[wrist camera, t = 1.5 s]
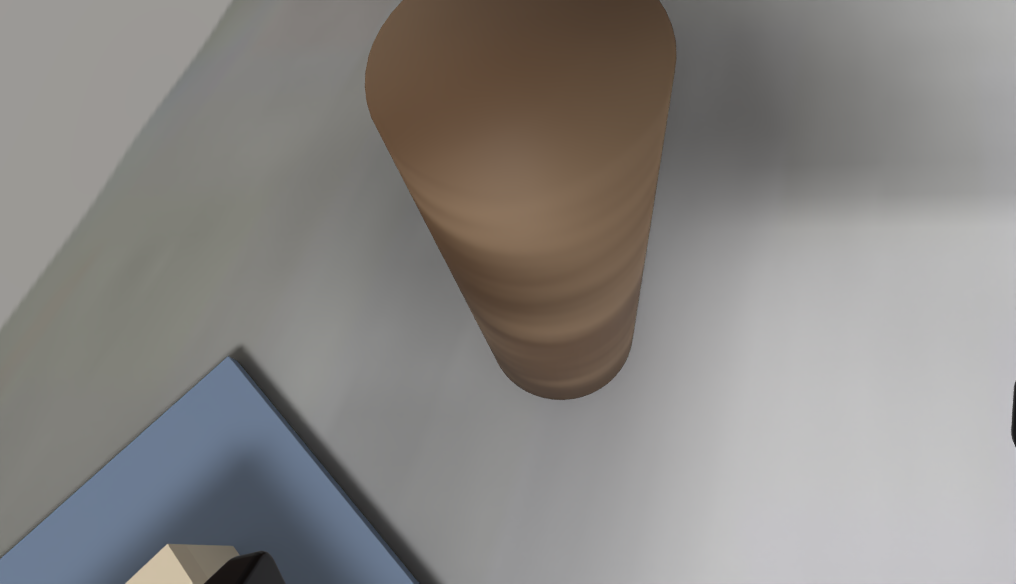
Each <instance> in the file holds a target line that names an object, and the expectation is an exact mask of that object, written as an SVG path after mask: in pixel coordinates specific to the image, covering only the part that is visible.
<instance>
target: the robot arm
mask: <svg viewBox="0 0 1016 584" xmlns="http://www.w3.org/2000/svg"><path fill="white" fill-rule="evenodd" d="M1011 435H1012V439H1013V442H1014V444H1015V447H1016V382H1015V385H1014V395H1013V410H1012V425H1011ZM204 584H286V583H285V581H284V579H283V577H282V575H281V573H280V571H279V569H278V567H277V565H276V563H275V561H274V559H273V557H272V556H271V555H270V554H269V553H268V552H266V551H256V552H252V553H248V554H243V555H239V556H236V557H233V558H231V559H230V560H228V561H227V562H226V563H225V564H224V565H223V566H222V567H221V568H220V569H219V570H218V571H217V572H216V573H214V574H213V575H212V576H211V577H210V578H209V579H208V580H207V581H206V582H205V583H204Z"/></svg>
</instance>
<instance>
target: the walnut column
mask: <svg viewBox="0 0 1016 584" xmlns="http://www.w3.org/2000/svg"><path fill="white" fill-rule="evenodd" d="M675 65H676V41H675V36H674V32H673V28H672V24H671V22H670V20H669V17H668V15H667V13H666V11H665V9H664V7H663V6H662V4H661V3H660V1H659V0H403V1H402V2H401V3H400V4H399V5H398V6H397V7H396V9H395V10H394V11H393V12H392V13H391V14H390V16H389V17H388V19H387V20H386V21H385V23H384V24H383V26H382V27H381V29H380V31H379V33H378V35H377V37H376V39H375V40H374V43H373V46H372V48H371V51H370V54H369V57H368V62H367V67H366V73H365V92H366V100H367V105H368V108H369V111H370V114H371V118H372V120H373V122H374V124H375V126H376V128H377V130H378V132H379V133H380V135H381V137H382V139H383V141H384V143H385V145H386V147H387V149H388V151H389V153H390V155H391V157H392V159H393V161H394V163H395V164H396V166H397V168H398V170H399V172H400V174H401V176H402V178H403V180H404V182H405V184H406V186H407V188H408V190H409V192H410V194H411V195H412V197H413V199H414V201H415V203H416V205H417V207H418V209H419V211H420V213H421V215H422V217H423V219H424V221H425V223H426V225H427V227H428V228H429V230H430V232H431V234H432V236H433V238H434V240H435V242H436V244H437V246H438V248H439V250H440V252H441V254H442V256H443V258H444V259H445V261H446V263H447V265H448V267H449V269H450V271H451V273H452V275H453V277H454V279H455V281H456V283H457V285H458V287H459V289H460V290H461V292H462V294H463V296H464V298H465V300H466V302H467V304H468V306H469V308H470V310H471V312H472V314H473V316H474V318H475V320H476V321H477V323H478V325H479V327H480V329H481V331H482V333H483V335H484V337H485V339H486V341H487V343H488V345H489V347H490V349H491V351H492V353H493V354H494V356H495V358H496V360H497V362H498V364H499V366H500V368H501V369H502V370H503V372H504V373H505V374H506V376H507V377H508V378H509V379H510V380H511V381H512V382H514V383H515V384H516V385H517V386H518V387H520V388H522V389H523V390H525V391H527V392H529V393H531V394H533V395H536V396H539V397H543V398H548V399H555V400H566V399H574V398H579V397H583V396H585V395H588V394H591V393H593V392H595V391H597V390H599V389H600V388H602V387H603V386H605V385H606V384H608V383H609V382H610V381H611V380H612V379H613V378H614V377H615V376H616V375H617V373H618V372H619V371H620V370H621V368H622V367H623V365H624V363H625V362H626V359H627V357H628V355H629V352H630V349H631V345H632V339H633V333H634V326H635V320H636V314H637V307H638V301H639V295H640V288H641V282H642V276H643V269H644V263H645V257H646V250H647V244H648V238H649V231H650V225H651V219H652V212H653V206H654V200H655V193H656V187H657V181H658V174H659V168H660V162H661V155H662V149H663V143H664V136H665V130H666V124H667V117H668V111H669V105H670V98H671V92H672V86H673V79H674V73H675Z"/></svg>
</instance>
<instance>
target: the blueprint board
mask: <svg viewBox="0 0 1016 584" xmlns="http://www.w3.org/2000/svg"><path fill="white" fill-rule="evenodd" d="M256 551H266V552H268V553H269V554H270V555H271V556H272V557H273V559H274V561H275V563H276V565H277V567H278V569H279V571H280V573H281V575H282V577H283V579H284V581H285V583H286V584H419V582H418V581H417V580H416V579H415V578H414V576H413V575H412V574H411V573H410V571H409V570H408V569H407V568H406V567H405V565H404V564H403V563H402V562H401V560H400V559H399V558H398V557H397V556H396V554H395V553H394V552H393V551H392V549H391V548H390V547H389V546H388V545H387V543H386V542H385V541H384V540H383V538H382V537H381V536H380V535H379V534H378V532H377V531H376V530H375V529H374V527H373V526H372V525H371V524H370V523H369V521H368V520H367V519H366V518H365V516H364V515H363V514H362V513H361V512H360V510H359V509H358V508H357V507H356V505H355V504H354V503H353V502H352V501H351V499H350V498H349V497H348V496H347V494H346V493H345V492H344V491H343V490H342V488H341V487H340V486H339V485H338V483H337V482H336V481H335V480H334V479H333V477H332V476H331V475H330V474H329V472H328V471H327V470H326V469H325V468H324V466H323V465H322V464H321V463H320V461H319V460H318V459H317V458H316V457H315V455H314V454H313V453H312V452H311V450H310V449H309V448H308V447H307V446H306V444H305V443H304V442H303V441H302V440H301V438H300V437H299V436H298V435H297V433H296V432H295V431H294V430H293V429H292V427H291V426H290V425H289V424H288V422H287V421H286V420H285V419H284V418H283V416H282V415H281V414H280V413H279V411H278V410H277V409H276V408H275V407H274V405H273V404H272V403H271V402H270V400H269V399H268V398H267V397H266V396H265V394H264V393H263V392H262V391H261V389H260V388H259V387H258V386H257V385H256V383H255V382H254V381H253V380H252V378H251V377H250V376H249V375H248V374H247V372H246V371H245V370H244V369H243V367H242V366H241V365H240V364H239V363H238V361H236V360H235V359H233V358H231V357H229V356H228V357H227V358H226V359H224V360H223V361H222V362H221V363H220V364H219V365H218V366H217V367H215V368H214V369H213V370H212V371H211V372H210V373H209V374H208V375H206V376H205V377H204V378H203V379H202V380H201V381H200V382H199V383H197V384H196V385H195V386H194V387H193V388H192V389H191V390H190V391H189V392H187V393H186V394H185V395H184V396H183V397H182V398H181V399H180V400H178V401H177V402H176V403H175V404H174V405H173V406H172V407H171V408H169V409H168V410H167V411H166V412H165V413H164V414H163V415H162V416H160V417H159V418H158V419H157V420H156V421H155V422H154V423H153V424H151V425H150V426H149V427H148V428H147V429H146V430H145V431H144V432H142V433H141V434H140V435H139V436H138V437H137V438H136V439H135V440H133V441H132V442H131V443H130V444H129V445H128V446H127V447H126V448H125V449H123V450H122V451H121V452H120V453H119V454H118V455H117V456H116V457H114V458H113V459H112V460H111V461H110V462H109V463H108V464H107V465H105V466H104V467H103V468H102V469H101V470H100V471H99V472H98V473H96V474H95V475H94V476H93V477H92V478H91V479H90V480H89V481H87V482H86V483H85V484H84V485H83V486H82V487H81V488H80V489H78V490H77V491H76V492H75V493H74V494H73V495H72V496H71V497H69V498H68V499H67V500H66V501H65V502H64V503H63V504H62V505H61V506H59V507H58V508H57V509H56V510H55V511H54V512H53V513H52V514H50V515H49V516H48V517H47V518H46V519H45V520H44V521H43V522H41V523H40V524H39V525H38V526H37V527H36V528H35V529H34V530H32V531H31V532H30V533H29V534H28V535H27V536H26V537H25V538H23V539H22V540H21V541H20V542H19V543H18V544H17V545H16V546H14V547H13V548H12V549H11V550H10V551H9V552H8V553H7V554H5V555H4V556H3V557H2V558H1V559H0V584H204V583H205V582H206V581H207V580H208V579H209V578H210V577H211V576H212V575H213V574H214V573H216V572H217V571H218V570H219V569H220V568H221V567H222V566H223V565H224V564H225V563H226V562H227V561H228V560H230V559H231V558H233V557H236V556H239V555H243V554H248V553H252V552H256Z"/></svg>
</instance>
